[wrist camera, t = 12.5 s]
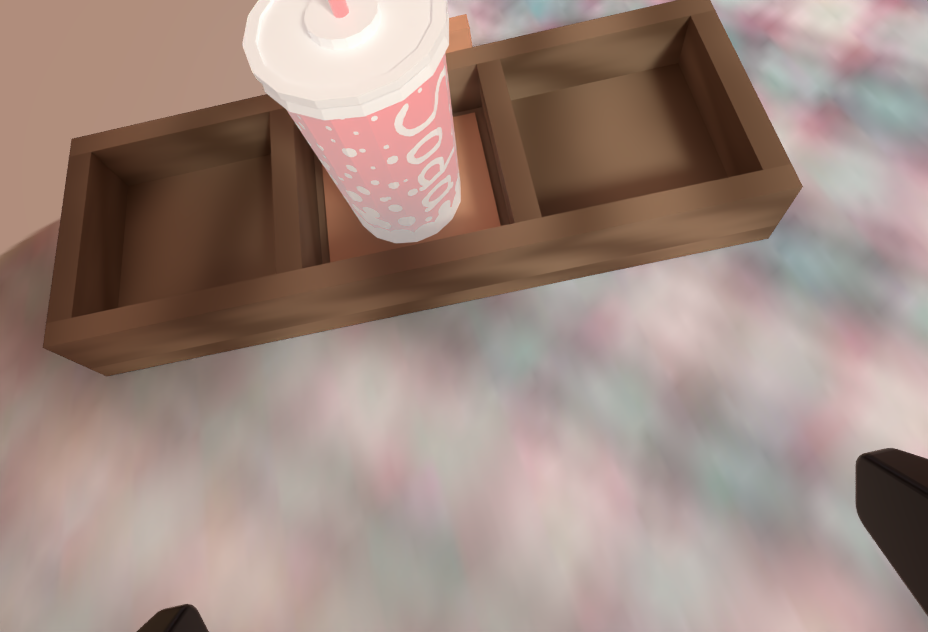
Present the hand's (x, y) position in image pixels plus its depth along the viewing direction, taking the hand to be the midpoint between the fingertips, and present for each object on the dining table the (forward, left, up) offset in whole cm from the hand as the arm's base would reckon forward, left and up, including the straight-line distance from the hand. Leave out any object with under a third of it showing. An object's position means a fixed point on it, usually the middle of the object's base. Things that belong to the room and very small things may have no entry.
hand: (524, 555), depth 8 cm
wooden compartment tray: (+9, +12, -13) cm, 21 cm away
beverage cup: (+9, +12, -12) cm, 20 cm away
